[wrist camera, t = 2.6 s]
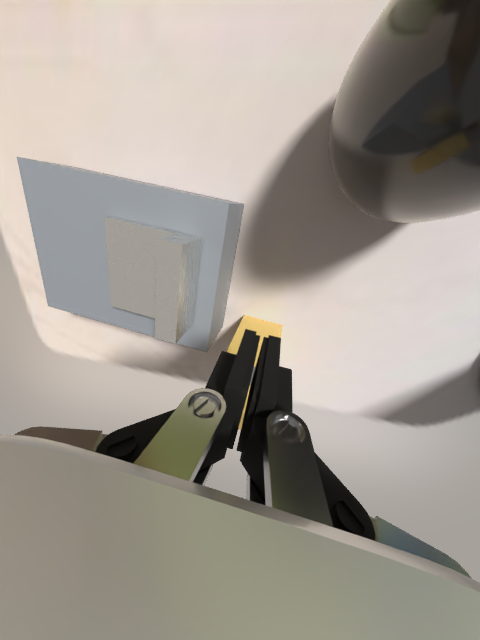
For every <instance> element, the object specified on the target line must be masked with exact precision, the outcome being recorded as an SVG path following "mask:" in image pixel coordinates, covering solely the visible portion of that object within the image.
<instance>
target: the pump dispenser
mask: <svg viewBox="0 0 480 640" xmlns="http://www.w3.org/2000/svg"><path fill="white" fill-rule="evenodd" d="M329 153H330V161H331V166H332V170H333V173H334V176H335V179H336V181H337V183H338V185H339V187H340V189H341V190H342V192H343V193H344V195H345V196H346V197H347V199H348V200H349V201H350V202H351V203H352V204H353V205H354V206H356V207H357V208H358V209H359V210H361V211H362V212H364V213H366V214H368V215H370V216H372V217H375V218H378V219H381V220H385V221H390V222H398V223H419V222H428V221H434V220H440V219H446V218H451V217H455V216H460V215H464V214H468V213H472V212H476V211H479V210H480V0H390V2H389V3H388V5H387V6H386V7H385V9H384V10H383V12H382V13H381V15H380V16H379V18H378V19H377V21H376V22H375V24H374V25H373V27H372V28H371V30H370V31H369V33H368V34H367V36H366V37H365V39H364V41H363V42H362V44H361V46H360V47H359V49H358V51H357V53H356V54H355V56H354V58H353V60H352V62H351V64H350V66H349V68H348V70H347V72H346V75H345V77H344V79H343V82H342V84H341V87H340V89H339V92H338V95H337V98H336V101H335V105H334V109H333V113H332V118H331V123H330V132H329Z"/></svg>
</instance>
